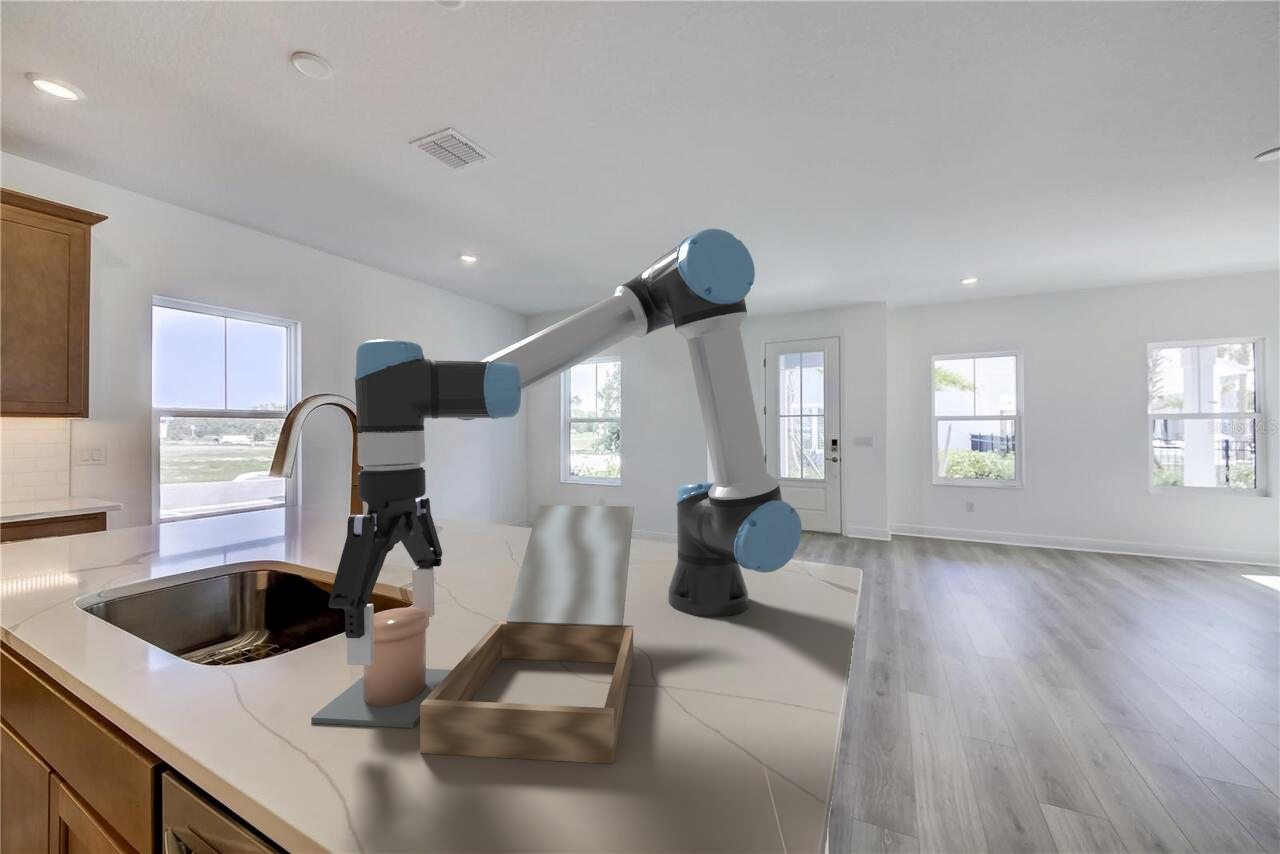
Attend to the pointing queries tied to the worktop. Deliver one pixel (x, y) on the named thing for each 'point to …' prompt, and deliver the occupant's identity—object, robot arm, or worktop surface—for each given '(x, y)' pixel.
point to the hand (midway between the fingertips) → (395, 637)
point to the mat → (357, 712)
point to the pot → (397, 657)
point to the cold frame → (547, 646)
